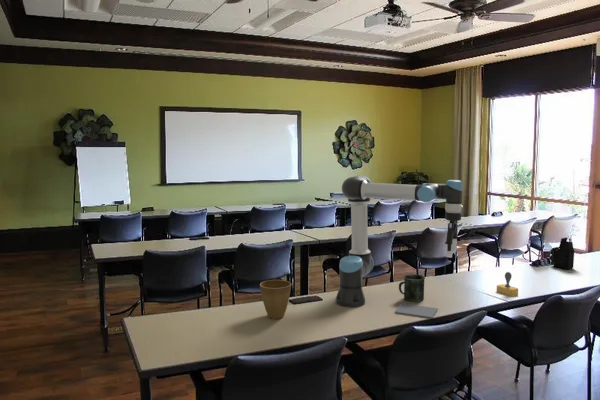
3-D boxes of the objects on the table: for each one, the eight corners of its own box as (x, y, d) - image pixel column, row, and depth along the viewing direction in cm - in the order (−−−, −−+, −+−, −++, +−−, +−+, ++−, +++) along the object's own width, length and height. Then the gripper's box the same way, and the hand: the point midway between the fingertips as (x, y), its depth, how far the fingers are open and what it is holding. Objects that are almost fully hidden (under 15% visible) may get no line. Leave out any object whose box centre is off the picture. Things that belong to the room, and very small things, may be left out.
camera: (554, 264, 341) (556, 235, 339) (574, 268, 330) (576, 238, 328) (546, 266, 335) (548, 236, 333) (566, 270, 324) (568, 240, 322)
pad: (394, 313, 245) (394, 311, 244) (402, 304, 257) (402, 303, 257) (432, 318, 237) (432, 317, 237) (437, 309, 249) (437, 308, 249)
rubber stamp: (518, 294, 274) (519, 273, 273) (511, 296, 271) (512, 274, 270) (503, 290, 283) (504, 269, 281) (496, 291, 280) (497, 270, 279)
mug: (428, 301, 263) (429, 278, 262) (404, 303, 259) (404, 281, 257) (417, 294, 273) (418, 273, 272) (393, 297, 269) (394, 275, 267)
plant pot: (297, 314, 243) (297, 282, 241) (280, 323, 230) (280, 290, 228) (271, 309, 250) (271, 277, 249) (253, 318, 238) (253, 285, 236)
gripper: (457, 215, 233) (455, 260, 235) (464, 209, 255) (462, 250, 258) (440, 214, 236) (439, 258, 238) (449, 208, 258) (447, 248, 261)
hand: (451, 254), depth 248 cm, fingers open, 13 cm apart
